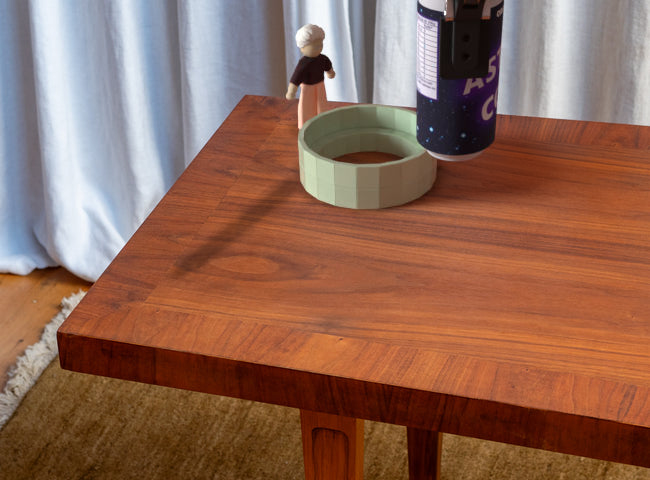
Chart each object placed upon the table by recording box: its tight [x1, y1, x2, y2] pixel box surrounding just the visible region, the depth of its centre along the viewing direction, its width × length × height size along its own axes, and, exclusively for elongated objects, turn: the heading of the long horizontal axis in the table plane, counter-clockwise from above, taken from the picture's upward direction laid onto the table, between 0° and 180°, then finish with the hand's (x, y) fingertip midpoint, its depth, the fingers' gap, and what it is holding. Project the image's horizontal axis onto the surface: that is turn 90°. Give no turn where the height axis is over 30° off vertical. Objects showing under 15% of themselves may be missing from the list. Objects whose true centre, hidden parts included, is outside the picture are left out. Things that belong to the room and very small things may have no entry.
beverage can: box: [415, 0, 505, 162], centre depth 61 cm, size 6×6×12 cm
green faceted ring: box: [297, 103, 438, 210], centre depth 92 cm, size 14×14×6 cm
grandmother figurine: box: [285, 23, 337, 130], centre depth 100 cm, size 8×4×13 cm, turn 150°
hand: (458, 55), depth 60 cm, fingers closed on beverage can, 5 cm apart
